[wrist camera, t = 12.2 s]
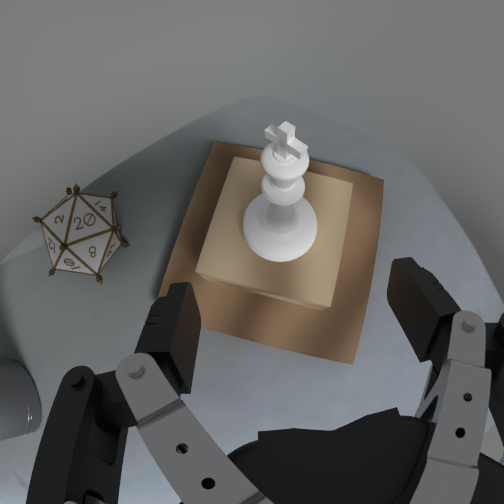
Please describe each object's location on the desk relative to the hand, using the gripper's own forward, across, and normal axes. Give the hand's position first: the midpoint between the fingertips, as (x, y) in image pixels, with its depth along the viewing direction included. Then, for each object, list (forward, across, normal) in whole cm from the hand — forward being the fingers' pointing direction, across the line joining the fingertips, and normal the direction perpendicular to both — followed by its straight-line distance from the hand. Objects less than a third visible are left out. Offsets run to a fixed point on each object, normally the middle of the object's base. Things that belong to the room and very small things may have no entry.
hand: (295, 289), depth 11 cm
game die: (+14, +16, +4) cm, 22 cm away
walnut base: (+12, 0, +5) cm, 13 cm away
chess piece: (+9, 0, +1) cm, 9 cm away
